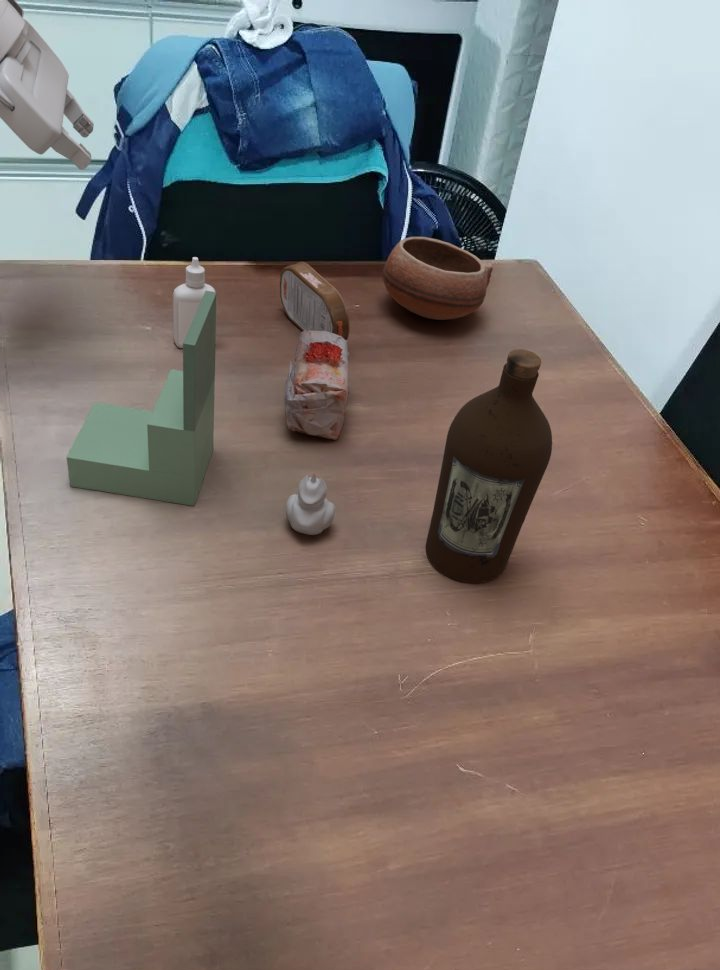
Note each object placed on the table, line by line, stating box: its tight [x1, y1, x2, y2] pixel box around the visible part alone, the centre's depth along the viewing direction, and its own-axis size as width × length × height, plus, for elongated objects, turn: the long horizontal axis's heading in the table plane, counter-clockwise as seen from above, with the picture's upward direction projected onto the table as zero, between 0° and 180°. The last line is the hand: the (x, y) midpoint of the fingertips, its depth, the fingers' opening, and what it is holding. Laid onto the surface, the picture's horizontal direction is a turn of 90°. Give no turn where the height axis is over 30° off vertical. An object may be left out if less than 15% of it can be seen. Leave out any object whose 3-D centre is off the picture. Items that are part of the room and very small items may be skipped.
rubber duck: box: [285, 472, 336, 536], centre depth 100 cm, size 5×7×8 cm
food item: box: [284, 330, 350, 441], centre depth 115 cm, size 14×8×10 cm, turn 1°
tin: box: [279, 261, 351, 341], centre depth 129 cm, size 15×3×8 cm, turn 34°
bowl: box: [382, 236, 494, 321], centre depth 137 cm, size 16×16×10 cm
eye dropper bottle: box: [172, 256, 218, 349], centre depth 121 cm, size 4×6×12 cm
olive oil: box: [425, 348, 553, 584], centre depth 94 cm, size 11×11×25 cm
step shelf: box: [66, 291, 218, 507], centre depth 99 cm, size 14×11×20 cm
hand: (88, 147), depth 106 cm, fingers open, 8 cm apart
